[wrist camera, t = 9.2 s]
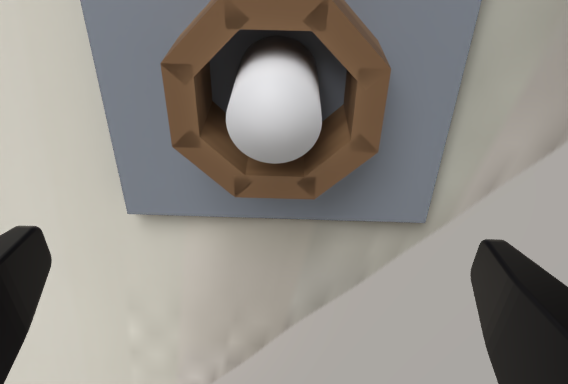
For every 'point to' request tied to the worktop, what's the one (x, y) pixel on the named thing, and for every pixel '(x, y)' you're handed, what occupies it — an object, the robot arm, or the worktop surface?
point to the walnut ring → (335, 129)
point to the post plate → (354, 196)
